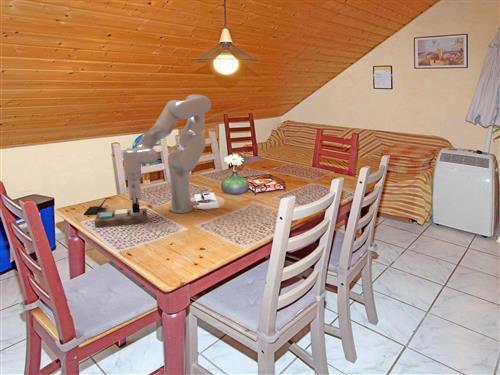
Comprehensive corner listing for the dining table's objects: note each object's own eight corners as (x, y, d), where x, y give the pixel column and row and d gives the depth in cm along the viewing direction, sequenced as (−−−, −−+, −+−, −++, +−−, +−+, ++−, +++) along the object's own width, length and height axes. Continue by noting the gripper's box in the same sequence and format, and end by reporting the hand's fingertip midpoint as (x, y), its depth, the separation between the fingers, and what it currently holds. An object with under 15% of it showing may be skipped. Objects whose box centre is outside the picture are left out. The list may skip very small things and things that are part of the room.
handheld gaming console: (85, 205, 199) (96, 191, 198) (98, 212, 203) (108, 198, 201) (82, 216, 189) (93, 201, 188) (95, 222, 193) (106, 208, 191)
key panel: (146, 214, 192) (146, 208, 191) (146, 222, 181) (146, 216, 180) (98, 218, 186) (97, 211, 185) (95, 227, 175) (94, 220, 174)
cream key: (128, 213, 186) (127, 209, 185) (127, 217, 181) (127, 213, 180) (116, 214, 185) (115, 210, 184) (115, 218, 179) (114, 214, 179)
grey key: (143, 213, 188) (142, 209, 187) (142, 217, 183) (142, 213, 182) (131, 214, 187) (130, 210, 186) (130, 218, 181) (130, 214, 181)
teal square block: (113, 216, 185) (112, 211, 184) (112, 220, 179) (111, 215, 179) (101, 217, 183) (100, 212, 183) (99, 221, 178) (99, 216, 177)
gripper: (141, 178, 172) (144, 216, 178) (141, 171, 186) (144, 206, 192) (123, 179, 171) (127, 218, 176) (125, 171, 185) (129, 207, 190)
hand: (136, 211), depth 184 cm, fingers closed
